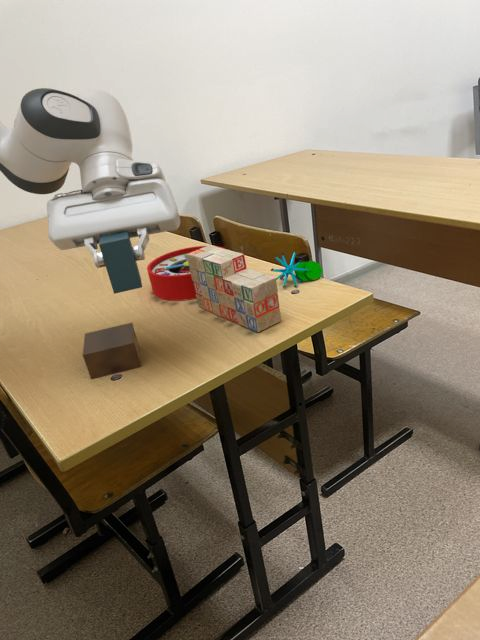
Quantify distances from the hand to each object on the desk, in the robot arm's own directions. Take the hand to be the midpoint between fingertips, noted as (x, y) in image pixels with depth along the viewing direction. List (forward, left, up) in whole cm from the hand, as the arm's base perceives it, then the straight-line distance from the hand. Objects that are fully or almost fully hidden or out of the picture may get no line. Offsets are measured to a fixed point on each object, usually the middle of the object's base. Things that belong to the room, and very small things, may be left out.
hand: (120, 262), depth 81 cm
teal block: (0, +1, -4) cm, 4 cm away
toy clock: (+13, +40, -21) cm, 47 cm away
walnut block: (-6, +9, -21) cm, 24 cm away
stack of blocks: (+19, +17, -21) cm, 33 cm away
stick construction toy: (+35, +27, -21) cm, 49 cm away
